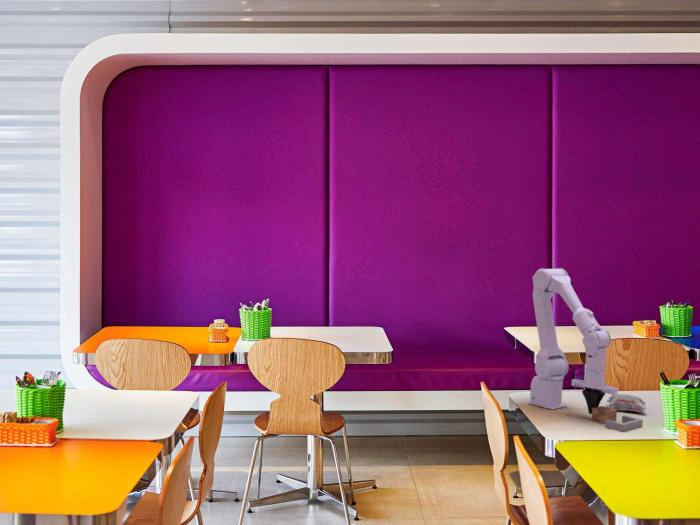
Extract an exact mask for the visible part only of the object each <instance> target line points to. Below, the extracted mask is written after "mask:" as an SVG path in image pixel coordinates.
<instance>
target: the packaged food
mask: <svg viewBox="0 0 700 525" xmlns="http://www.w3.org/2000/svg"><path fill="white" fill-rule="evenodd" d="M606 402H607V403H606V405H605V407H609V408H612V409H616V410H617V411H619V412H626V413H640V412H642V411H646V410H647V407H646V402H645V401H643V400H642V399H641V397H639V396H635V395H632V394H621V393H620V394H619V393H617V395H610V397H608V399H607V400H606Z"/></svg>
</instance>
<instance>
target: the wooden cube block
mask: <svg viewBox="0 0 700 525" xmlns="http://www.w3.org/2000/svg"><path fill="white" fill-rule="evenodd" d="M617 413H618V410H616V409H612V408H611V407H609V406H605V405H604V406H603V405H601V406H600V405H599V406H598V407H596V408H593V409H592V414H591V422H595V423H598V424H601V423H602V424H601V425H605V420H611V421H615V422H617V415H618V414H617Z"/></svg>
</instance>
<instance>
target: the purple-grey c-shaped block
mask: <svg viewBox="0 0 700 525" xmlns="http://www.w3.org/2000/svg"><path fill="white" fill-rule="evenodd" d="M643 422H644V420H643V419H641V418H637V417H633V416H630V415H626V414H624V415H621V422H618V421H616V422H615V421H611V420H605V424H604V428H608V429H610V430H614V429H615V431H618V432H623V433H624V432H628V431H631V430H634V429H638V428H641V427H643Z"/></svg>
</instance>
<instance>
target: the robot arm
mask: <svg viewBox="0 0 700 525" xmlns="http://www.w3.org/2000/svg"><path fill="white" fill-rule="evenodd" d="M531 279H532V283H533V285H532V286H533V290H532V299H533V300H532V301H533V307H534V312H535V321H536V327H537V333H538V340H539V346H540V347H539V348H540V349H539V351H538V352H537V353H536V354H535V356H534V357H535V364H534V370H535V373H536V376H535V375H534V376H533V378H532V380H531V383H530V395H529V398H530V399H529V401H528V404H530V405H535V406H537V407H540V408H541V407H542V408H545V409H549V410H557V409H561V408H565V407H568V406H567V404H565V403H562V397H563V382H564V379H565V375H567V373H568V371H569V363H568V361H567V359H566V356H565V352H564V351H563V350H562V349H561V348H560V347H559V342H558V339H557V338H558V337H557V333H556V332H557V331H556V324H555V318H554V313H553V311H554V310H553V306H552V300H551V299H552V298H553V296H554V295H555V294H559V295H560V297H561V298H562V299H563V301H564V302H565V303H566V305H567V307H569V309H570V310H571V312H572V313H573V314H572V321H573V322H574V323H575V325H576V327H577V329H578V330H579V331H580V333H581V334H582V336H583V338H582V344H583V346H584V351H585V368H584V380H583V379H578V378H574V379H573V378H572V379H571V386H572V387H579V388H583V390H582V391H581V392H582V393H581V394H582V395H583V398H584V399H585V402H586V405H587V411H588V414H589V415H592V409H593V408H596V407H600V404H601V402H602V400H603V398H604V397H605V396H606V394H608V395H610V396H612V395H617V394H618V392H619V391H618V389H619V388H618V387H614V386H611V385H607V384H605V375H606V362H607V360H606V358H607V348H608V347H610V345H611V342H612V337H611V335H610V332H609V331H608V330H607V329H605V328H602V326H601V325H600V324H599V323H598V321H597V319H596V318H595V316H594V312H593V311H592V310H590V308H589V309H588V308H585V307H584V306H583V304H582V303H581V300H580V299H579V297H578V295H577V294H576V292H575V290H574V288H573V286H572V284H571V277H570V276H569V274H568V272H567V271H566V270H565V269H564V268H562V267H561V268H539V269H538V270H536V271H535V273H534V275H532V278H531Z"/></svg>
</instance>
